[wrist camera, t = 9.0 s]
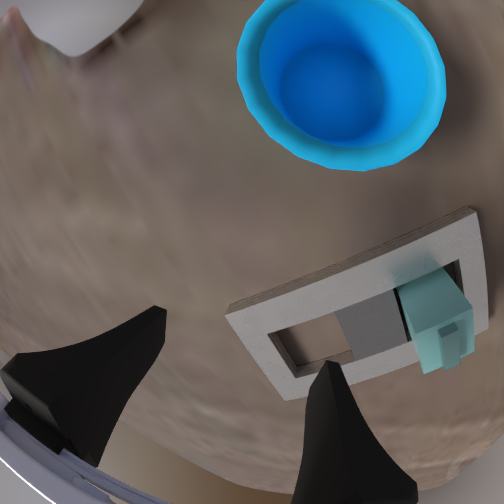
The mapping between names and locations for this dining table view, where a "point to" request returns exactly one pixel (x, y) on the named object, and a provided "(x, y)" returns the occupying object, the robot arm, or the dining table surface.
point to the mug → (342, 80)
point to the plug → (437, 320)
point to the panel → (362, 303)
